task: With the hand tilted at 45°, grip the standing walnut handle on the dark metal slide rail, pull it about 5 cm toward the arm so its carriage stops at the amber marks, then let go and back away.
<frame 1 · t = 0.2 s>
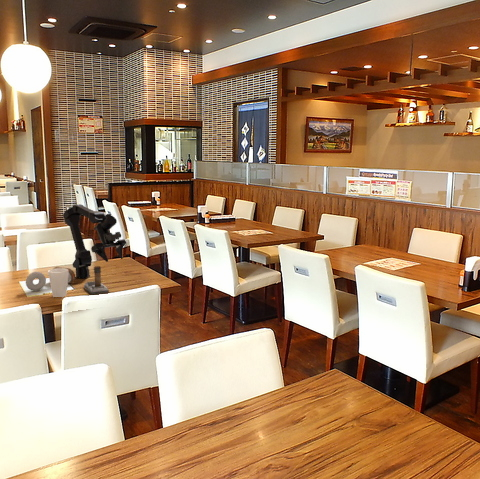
hand: (114, 260, 253), 15 cm above the table, tool tilted 35°, fingers open, 9 cm apart
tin: (62, 283, 262), on the table
rail base: (96, 289, 250), on the table
donut: (36, 291, 247), on the table
foam cup: (59, 296, 238), on the table
slide handle: (97, 277, 245), point 7 cm above the table, slide at 0.0 cm
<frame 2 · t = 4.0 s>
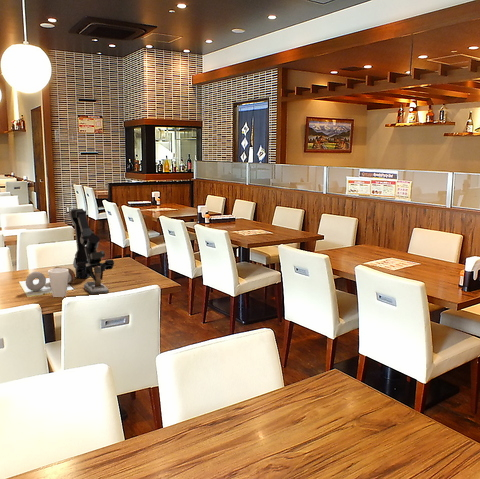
hand: (98, 279, 244), 7 cm above the table, tool tilted 45°, fingers closed on slide handle, 3 cm apart
slide handle: (97, 277, 245), point 7 cm above the table, slide at 0.0 cm, touching gripper
everything else where it was.
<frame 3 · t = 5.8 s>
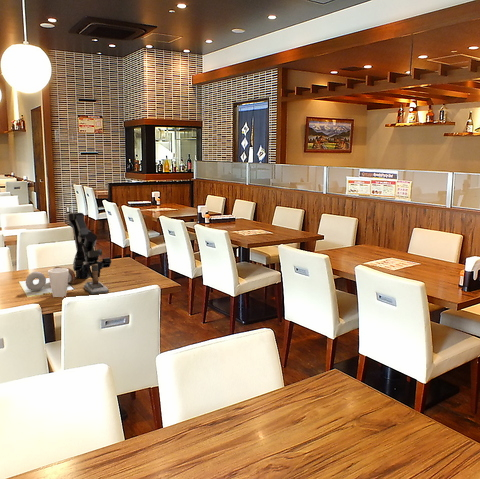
hand: (95, 277, 248), 7 cm above the table, tool tilted 45°, fingers closed on slide handle, 3 cm apart
slide handle: (95, 275, 249), point 7 cm above the table, slide at 5.0 cm, touching gripper
everything else where it was.
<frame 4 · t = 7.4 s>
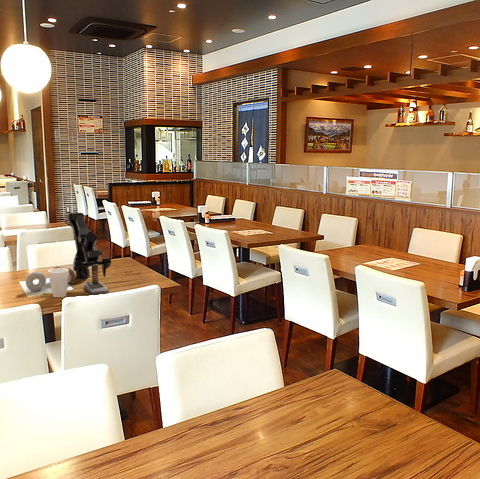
hand: (95, 277, 248), 7 cm above the table, tool tilted 45°, fingers open, 9 cm apart
slide handle: (95, 275, 249), point 7 cm above the table, slide at 5.0 cm
everything else where it was.
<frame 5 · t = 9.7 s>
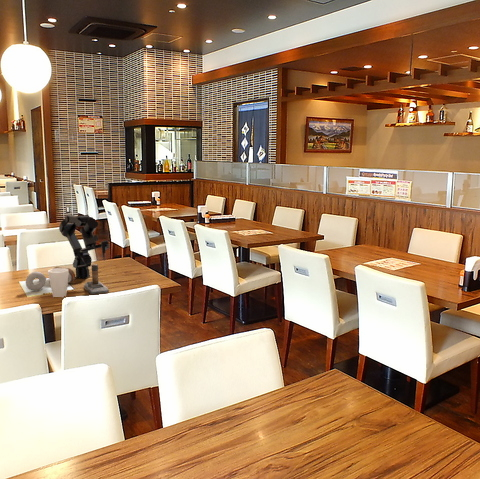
hand: (95, 262, 258), 12 cm above the table, tool tilted 35°, fingers open, 9 cm apart
nothing on the table moved.
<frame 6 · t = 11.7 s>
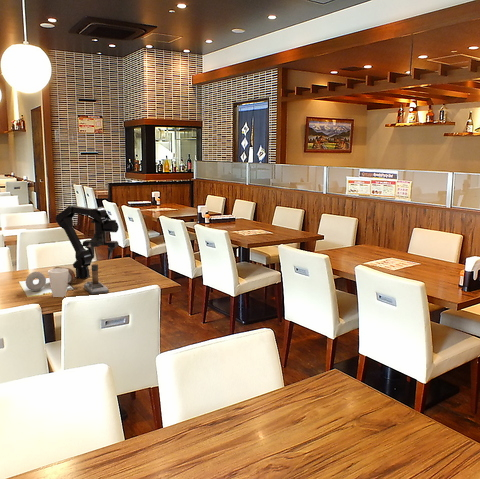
hand: (101, 259, 267), 12 cm above the table, tool pointing down, fingers open, 9 cm apart
nothing on the table moved.
at the end: slide handle slide at 5.0 cm; the gripper is holding nothing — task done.
